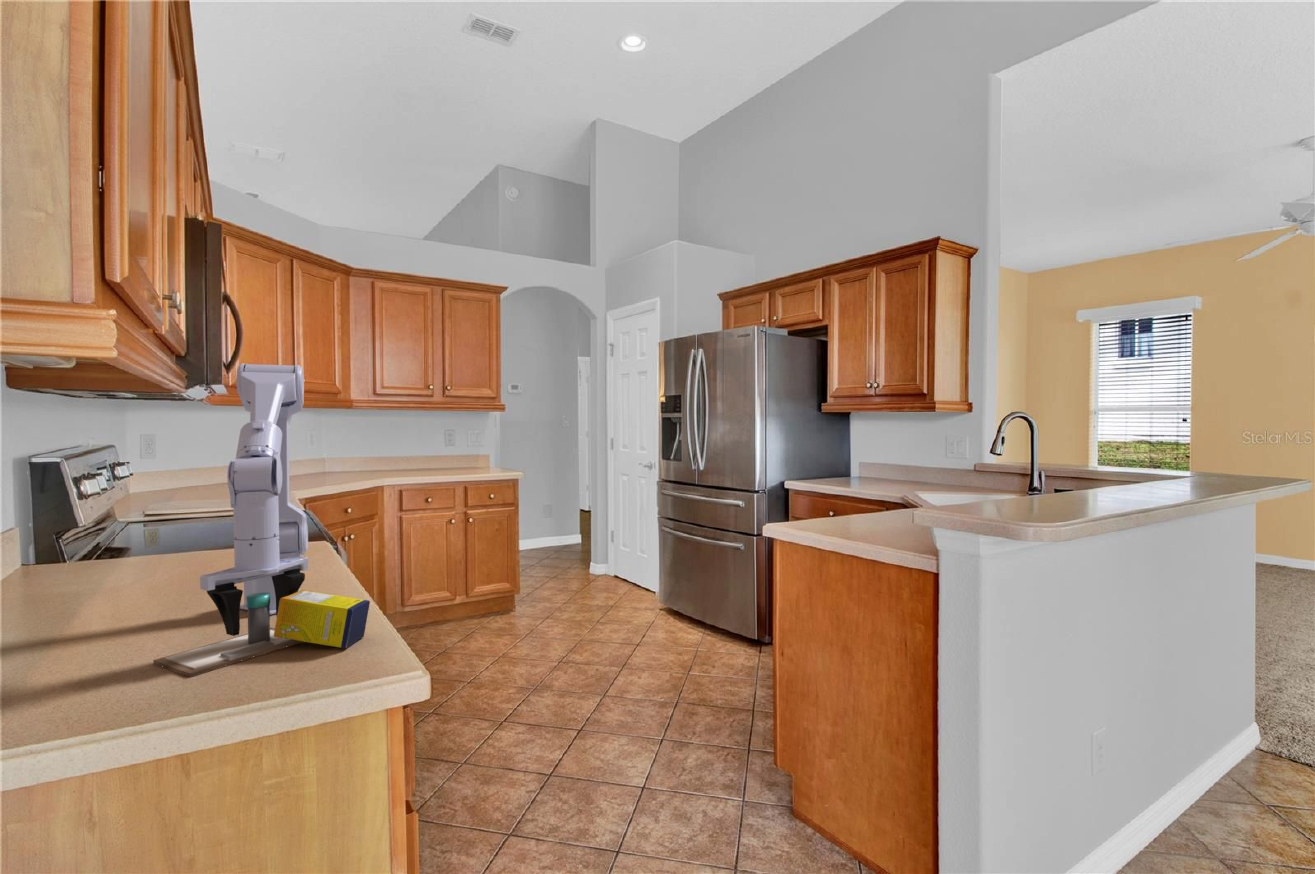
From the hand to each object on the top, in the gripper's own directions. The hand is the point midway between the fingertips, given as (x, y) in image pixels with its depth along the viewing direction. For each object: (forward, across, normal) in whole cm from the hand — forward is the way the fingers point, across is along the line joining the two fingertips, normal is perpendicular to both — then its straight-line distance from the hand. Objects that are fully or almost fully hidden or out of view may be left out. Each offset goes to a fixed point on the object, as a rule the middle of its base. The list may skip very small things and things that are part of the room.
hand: (258, 627), depth 95 cm
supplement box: (0, +8, -13) cm, 15 cm away
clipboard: (+3, -3, +1) cm, 4 cm away
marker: (+2, 0, 0) cm, 2 cm away
